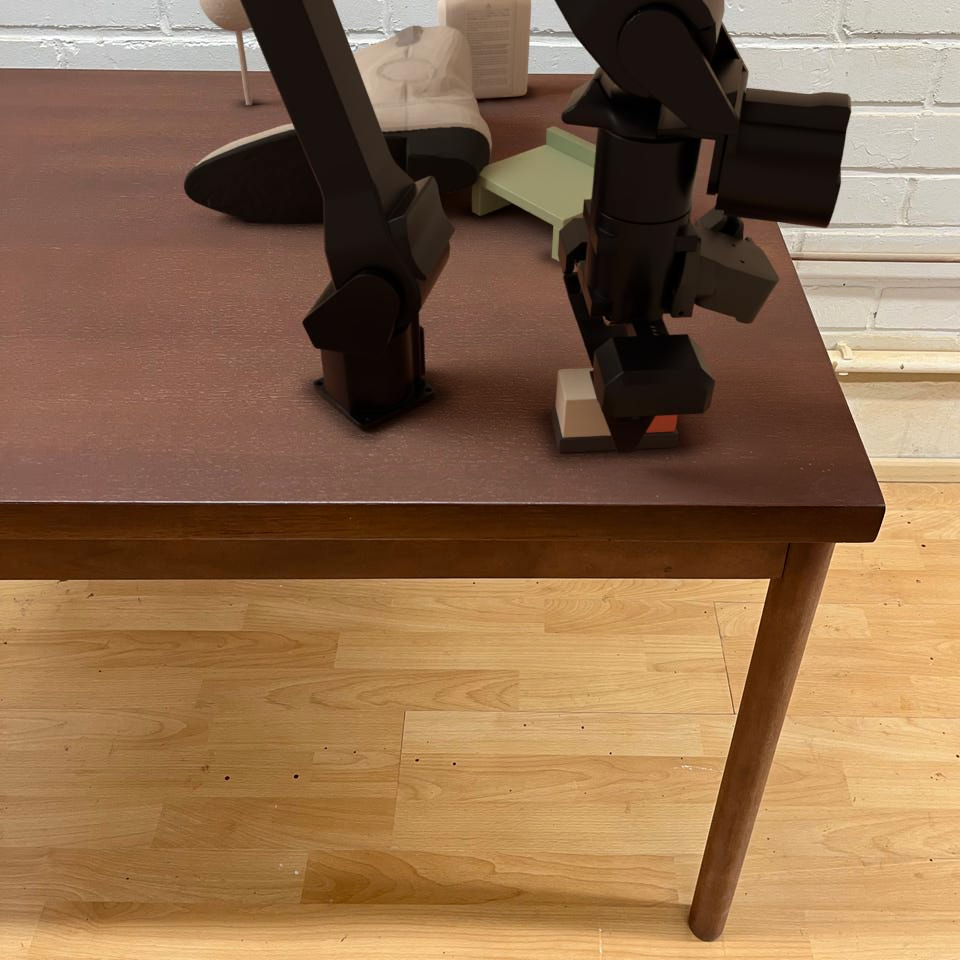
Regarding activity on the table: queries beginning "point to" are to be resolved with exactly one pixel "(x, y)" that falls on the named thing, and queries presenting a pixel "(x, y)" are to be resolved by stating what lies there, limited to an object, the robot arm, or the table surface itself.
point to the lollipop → (231, 29)
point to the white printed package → (493, 42)
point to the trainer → (596, 418)
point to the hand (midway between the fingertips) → (614, 415)
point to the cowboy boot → (402, 118)
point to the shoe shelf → (541, 181)
